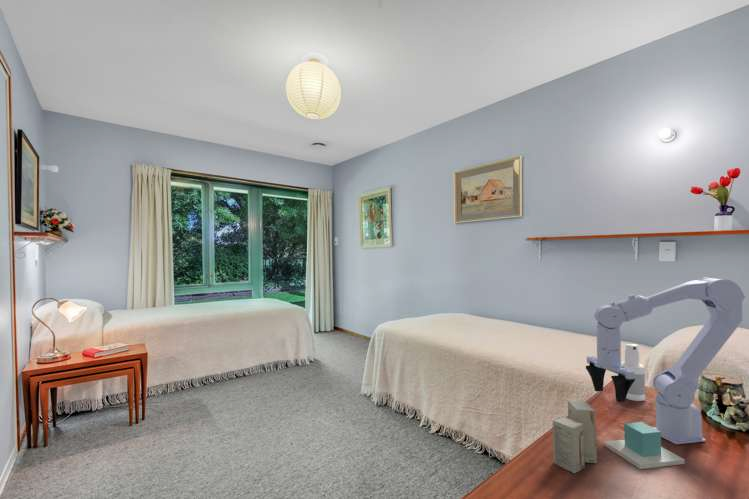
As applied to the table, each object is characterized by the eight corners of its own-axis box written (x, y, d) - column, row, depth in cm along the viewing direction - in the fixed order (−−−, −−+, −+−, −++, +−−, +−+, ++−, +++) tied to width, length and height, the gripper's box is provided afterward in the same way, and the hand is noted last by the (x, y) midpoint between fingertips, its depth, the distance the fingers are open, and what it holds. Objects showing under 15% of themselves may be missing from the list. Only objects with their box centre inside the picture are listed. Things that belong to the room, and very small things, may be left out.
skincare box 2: (597, 464, 82) (596, 411, 82) (577, 462, 83) (576, 410, 83) (586, 449, 88) (586, 400, 88) (567, 447, 89) (567, 399, 89)
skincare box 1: (585, 468, 80) (585, 424, 80) (574, 474, 78) (573, 429, 78) (563, 457, 85) (563, 415, 85) (552, 462, 82) (551, 419, 83)
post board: (644, 441, 92) (644, 426, 92) (684, 463, 82) (684, 446, 82) (604, 445, 90) (604, 429, 90) (640, 469, 80) (640, 451, 80)
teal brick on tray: (641, 443, 89) (641, 421, 89) (661, 454, 84) (660, 431, 84) (624, 445, 88) (624, 423, 88) (643, 457, 83) (642, 433, 83)
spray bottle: (626, 400, 117) (626, 346, 118) (616, 393, 124) (615, 341, 124) (649, 402, 116) (648, 347, 116) (637, 394, 123) (637, 342, 123)
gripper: (577, 342, 107) (578, 387, 107) (618, 356, 93) (618, 407, 93) (597, 341, 108) (598, 385, 108) (640, 354, 94) (641, 405, 94)
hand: (609, 396), depth 100 cm, fingers open, 7 cm apart
